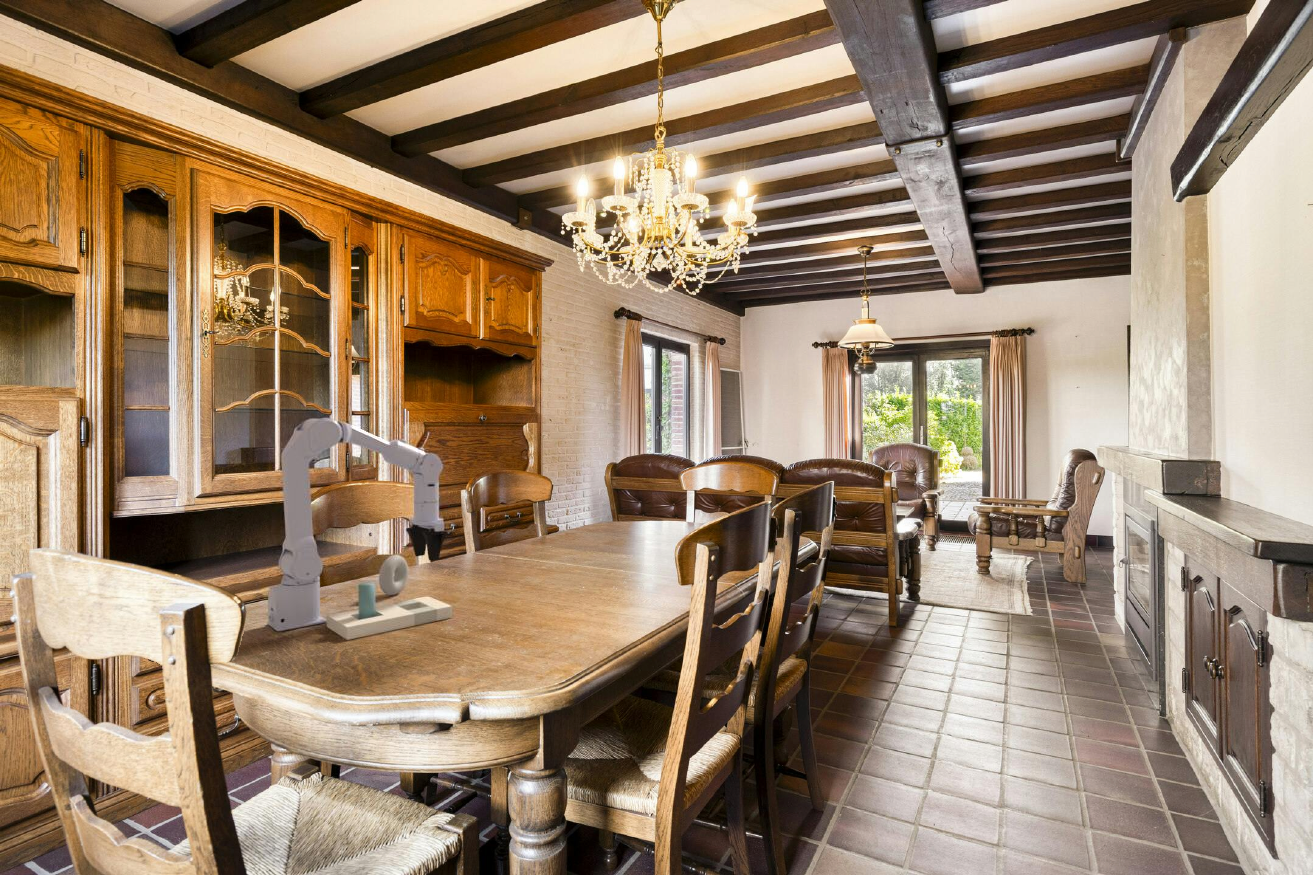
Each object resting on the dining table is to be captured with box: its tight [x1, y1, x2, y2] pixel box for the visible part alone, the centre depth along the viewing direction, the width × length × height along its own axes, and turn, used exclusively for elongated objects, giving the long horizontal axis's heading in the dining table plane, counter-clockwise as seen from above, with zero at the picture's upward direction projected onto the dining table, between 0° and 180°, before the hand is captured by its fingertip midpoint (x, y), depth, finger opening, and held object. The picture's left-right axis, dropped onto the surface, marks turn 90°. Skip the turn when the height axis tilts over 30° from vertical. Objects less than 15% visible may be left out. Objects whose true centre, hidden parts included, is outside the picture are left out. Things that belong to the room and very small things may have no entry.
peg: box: [357, 581, 376, 620], centre depth 137 cm, size 3×3×9 cm
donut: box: [378, 554, 409, 596], centre depth 164 cm, size 10×4×10 cm, turn 170°
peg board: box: [326, 596, 453, 641], centre depth 140 cm, size 22×12×2 cm, turn 134°
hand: (426, 557), depth 159 cm, fingers open, 7 cm apart
